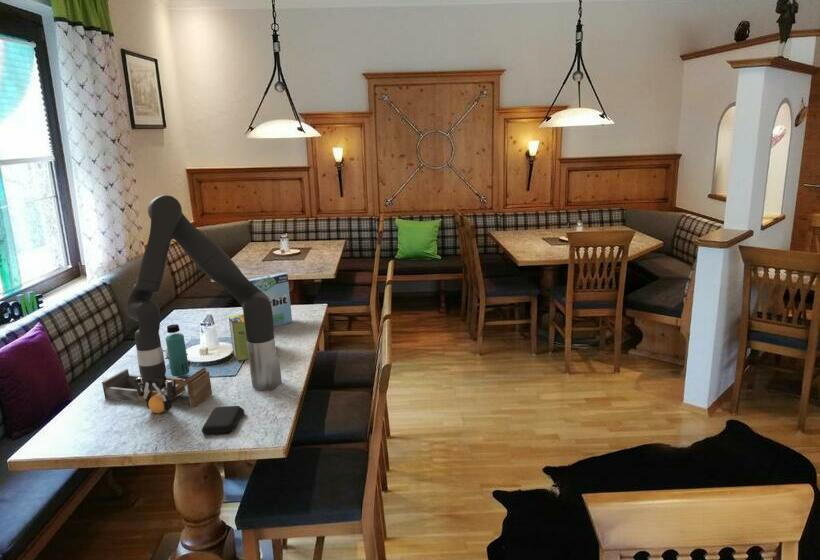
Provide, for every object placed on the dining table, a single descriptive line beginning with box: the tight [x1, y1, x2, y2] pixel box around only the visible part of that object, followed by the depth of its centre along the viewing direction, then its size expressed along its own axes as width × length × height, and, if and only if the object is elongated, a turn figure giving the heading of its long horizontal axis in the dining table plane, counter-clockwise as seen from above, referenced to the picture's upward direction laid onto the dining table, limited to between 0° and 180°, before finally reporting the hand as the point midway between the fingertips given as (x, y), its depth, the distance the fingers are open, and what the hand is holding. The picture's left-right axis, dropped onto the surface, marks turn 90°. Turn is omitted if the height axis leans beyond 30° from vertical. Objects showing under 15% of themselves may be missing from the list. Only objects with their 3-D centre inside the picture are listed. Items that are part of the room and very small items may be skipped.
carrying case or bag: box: [201, 405, 246, 436], centre depth 177 cm, size 11×3×15 cm
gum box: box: [248, 272, 293, 327], centre depth 261 cm, size 20×5×23 cm, turn 127°
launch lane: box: [101, 367, 213, 408], centre depth 197 cm, size 36×11×10 cm, turn 74°
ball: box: [148, 394, 166, 414], centre depth 186 cm, size 6×6×6 cm
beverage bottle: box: [165, 323, 190, 378], centre depth 210 cm, size 6×7×20 cm
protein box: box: [228, 313, 277, 362], centre depth 231 cm, size 10×15×16 cm
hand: (159, 408), depth 186 cm, fingers closed on ball, 6 cm apart
